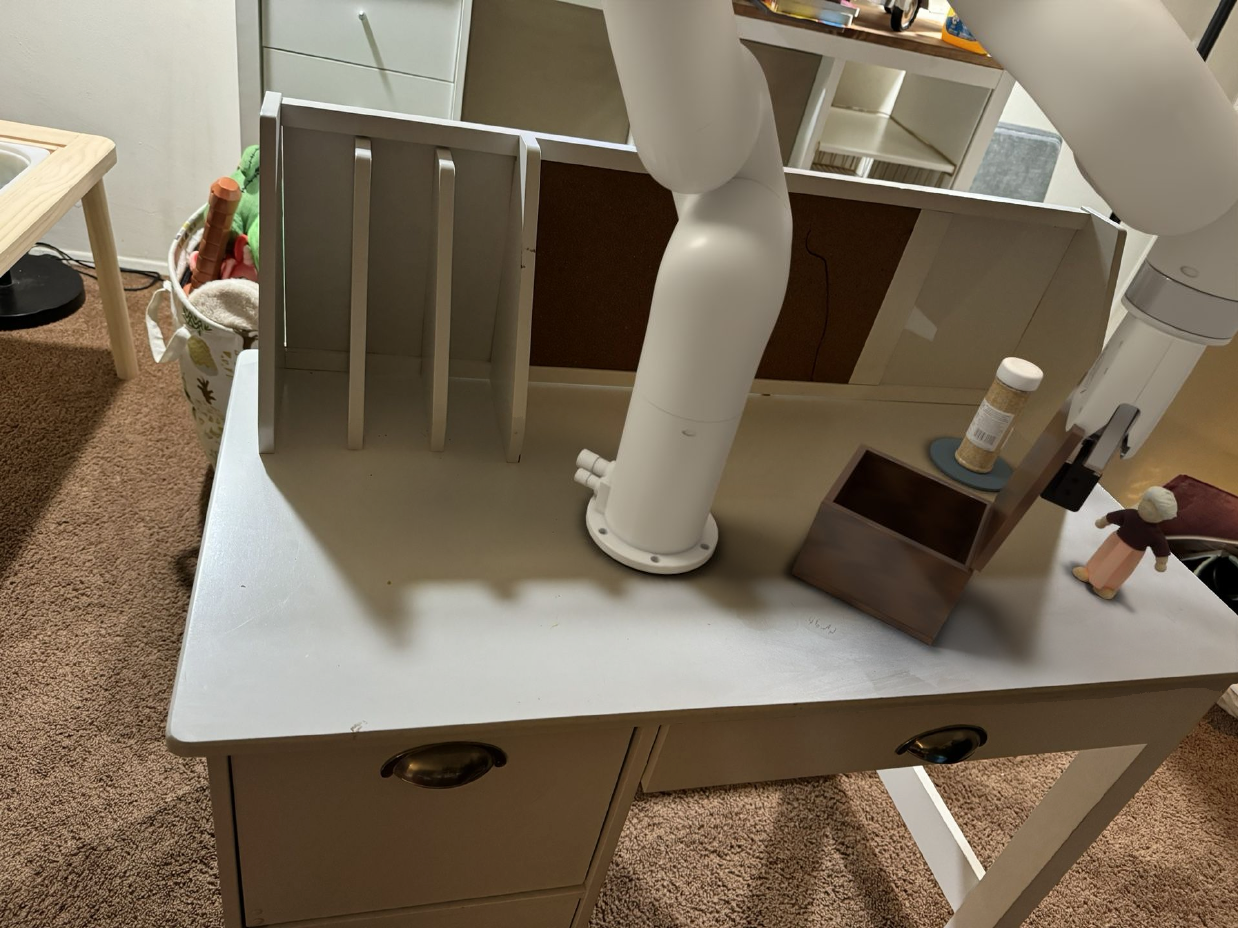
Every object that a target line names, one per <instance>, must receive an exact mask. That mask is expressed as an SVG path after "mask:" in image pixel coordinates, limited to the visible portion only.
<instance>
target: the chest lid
mask: <svg viewBox="0 0 1238 928" xmlns="http://www.w3.org/2000/svg"><path fill="white" fill-rule="evenodd" d="M1088 372H1089V371H1085V373H1084V374H1083V375H1082V377H1081V378H1080V380H1079V381H1078V383H1077V384H1076V385H1075V387H1074V388H1073V389H1072V391H1071V392H1070V393H1069V395H1068V397H1067V398H1066V399H1065V401H1064V402H1063V403H1062V405H1061V406H1060V407H1059V409H1058V410H1057V412H1056V413H1055V414H1054V416H1053V417H1052V418H1051V420H1050V421H1049V423H1048V424H1047V425H1046V427H1045V428H1044V430H1043V431H1042V432H1041V433H1040V435H1039V437H1038V438H1037V439H1036V441H1035V442H1034V443H1033V444H1032V445H1031V447H1030V449H1028V452H1027V453H1026V455H1025V456H1024V457H1023V459H1022V460H1021V461H1020V462H1019V464H1018V465H1017V467H1016V468H1015V470H1014V471H1012V475H1011V476H1010V478H1009V479H1008V481H1007V482H1006V483H1005V485H1004V486H1003V487H1002V489H1001V490H1000V491H998V493H997V495H996V496H995V497H994V500H993V502H994V503H993V506H992V509H991V511H990V514H989V517H988V520H987V523H986V526H985V529H984V531H983V534H982V537H981V540H980V543H979V546H978V549H977V551H976V554H975V557H974V560H973V563H972V566H971V568H973V569H974V571H976V572H978V573H981V572H982V571H983V570H984V569H985V567H986V566H987V565H988V563H989V562H990V561H991V560H992V558H993V557H994V556H995V554H996V553H997V551H998V550H999V549H1000V547H1001V546H1002V545H1003V544H1004V542H1005V541H1006V540H1007V538H1008V537H1009V536H1010V535H1011V533H1012V532H1013V531H1014V530H1015V528H1016V527H1017V525H1019V523H1020V521H1021V520H1022V519H1023V518H1024V516H1025V515H1026V514H1027V512H1028V511H1029V510H1030V508H1032V506H1033V504H1034V503H1035V502H1036V501H1037V499H1038V498H1039V497H1040V494H1041V493H1042V491H1043V490H1044V489H1045V487H1046V486H1047V485H1048V483H1049V482H1050V481H1051V480H1052V478H1053V477H1054V476H1055V474H1056V473H1057V472H1058V470H1059V469H1060V468H1061V466H1062V465H1063V464H1064V463H1065V461H1066V460H1067V459H1068V457H1069V456H1070V455H1071V453H1072V452H1073V451H1074V449H1075V448H1076V447H1077V446H1078V444H1079V443H1080V442H1081V440H1082V439H1083V438H1084V433H1085V430H1084V429H1082V428H1080V427H1078V426H1077V425H1076V424H1075V423H1074V424H1073V426H1072V427H1071V428H1070V429H1069V430H1068V431H1066V424H1067V419H1068V415H1069V411H1070V407H1071V404H1072V400H1073V397H1074V395H1075V393H1076V391H1077V389H1078V387H1079V386H1080V384H1081V383H1082V381H1083V380H1084V378H1085V377H1086V375H1087V374H1088Z"/></svg>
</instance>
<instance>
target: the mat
mask: <svg viewBox="0 0 1238 928" xmlns="http://www.w3.org/2000/svg"><path fill="white" fill-rule="evenodd" d="M962 441H963V439H962V438H961V439H959V438H954V437H948V438H947V437H944V438H939V439H936V440H935V441H933V442H932V443H931V444H930V447H929V451H928V454H929V456H930V459H931V461H932V462H933V464H934V465H935V466H936V467H937V468H938V469H939V470H940V471H941V472H942V473H943V474H945V475H946V476H947V477H949V478H951V479H952V480H954V481H956V482H958V483H959V484H962V485H964V486H967V487H970V488H972V489H975V490H980V491H984V492H1000V490H1001V489H1002V487H1003V486H1004V485H1005V483H1006V482H1007V481H1008V479H1009V478H1010V476H1011V475H1012V474H1013V471H1012V469H1011V468H1010V466H1009V464H1007V463H1006V462H1005V461H1004V460H1003V459H1002V458H1001V457H1000V456H998V457H997V459H996V460H995V462H994V464H993V468H992V469H991V471H989V472H987V473H978V472H974V471H971V470H969V469H967V468H965V467H963V466H962V465H961V464H960V463H959V462H958V461H957V460H956V458H955V453H956V451H957V450H958V449H959V447H960V445H961V443H962Z"/></svg>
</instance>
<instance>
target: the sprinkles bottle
mask: <svg viewBox="0 0 1238 928" xmlns="http://www.w3.org/2000/svg"><path fill="white" fill-rule="evenodd" d="M1043 378H1044V373H1043V370H1042V369H1041V368H1040V367H1039V366H1037V365H1036V364H1034V363H1032V362H1030V361H1028V360H1025V359H1023V358H1019V357H1013V356H1010V357H1005V358H1003V360H1002V361H1001V362H1000V365H999V366H998V368H997V370H996V372H995V376H994V380H993V382H992V384H991V385H990V386H989V389H988V391H987V393H986V395H985V396H984V398H983V400H982V402H981V403H980V405H979V407H978V409H977V411H976V412H975V415H974V417H973V419H972V420H971V422H970V424H969V427H968V429H967V431H966V433H965V436H964V438H963V439H962V440H963V441H962V443H961V445H960V447H959V449H958V450H957V451H956V453H955V458H956V460H957V461H958V462H959V463H960V464H961V465H962V466H963V467H965V468H967V469H969V470H971V471H974V472H978V473H987V472H989V471H991V469H992V468H993V464H994V462H995V460H996V459H997V457H999V455H1000V453H1001V451H1002V450H1003V449H1004V447H1005V445H1006V443H1007V442H1008V440H1009V438H1010V437H1011V434H1012V432H1013V431H1014V429H1015V426H1016V424H1017V422H1018V421H1019V419H1020V418H1021V415H1022V413H1023V411H1024V409H1025V407H1026V406H1027V403H1028V402H1029V400H1030V398H1031V396H1032V395H1033V393H1034V392H1035V391H1036V390H1037V389H1038V388H1039V386H1040V384H1041V382H1042V380H1043Z"/></svg>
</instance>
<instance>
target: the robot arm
mask: <svg viewBox="0 0 1238 928" xmlns="http://www.w3.org/2000/svg"><path fill="white" fill-rule="evenodd" d="M946 2H947V3H948V5H949V6H950V8H951V9H952V10H953V12H954V13H955V15H956V16H957V17H958V19H959V20H960V21H961V23H962V24H963V26H965V28H966V29H967V30H968V31H969V33H970V34H971V36H972V37H973V38H974V39H975V41H976V42H977V44H979V46H980V47H981V48H982V49H983V50H984V52H985V53H986V54H987V55H989V56H990V58H992V60H994V61H995V62H996V63H997V64H999V65H1000V67H1002V69H1004V70H1005V71H1006V72H1007V73H1008V74H1009V75H1010V76H1011V77H1012V78H1013V79H1014V80H1015V81H1016V82H1017V83H1018V84H1019V86H1020V87H1022V89H1023V90H1024V91H1025V92H1026V94H1028V95H1029V97H1030V98H1031V99H1032V100H1033V102H1034V103H1035V104H1036V106H1037V107H1038V108H1039V109H1040V111H1041V112H1042V113H1043V115H1044V116H1045V117H1046V118H1047V120H1048V121H1049V122H1050V124H1051V125H1052V126H1053V128H1054V129H1055V130H1056V132H1057V133H1058V134H1059V136H1060V137H1061V138H1062V139H1063V141H1064V142H1065V144H1066V145H1067V147H1068V148H1069V149H1070V150H1071V152H1072V155H1073V160H1074V163H1075V165H1076V168H1077V170H1078V171H1079V173H1080V175H1081V176H1082V178H1083V179H1084V180H1085V182H1087V184H1088V185H1089V186H1090V187H1091V188H1092V189H1093V191H1094V192H1095V194H1097V195H1098V196H1099V197H1101V199H1102V200H1103V201H1104V203H1105V204H1106V205H1107V206H1108V208H1109V209H1110V210H1111V211H1112V213H1113V214H1114V215H1115V216H1116V217H1117V218H1118V219H1119V220H1120V221H1121V222H1122V223H1123V224H1125V225H1126V226H1128V227H1129V228H1131V229H1133V230H1135V231H1138V232H1141V233H1144V234H1145V235H1146V234H1147V235H1152V236H1156V239H1155V240H1154V242H1153V243H1152V246H1151V247H1150V249H1149V251H1148V253H1147V254H1146V257H1145V258H1144V259H1143V261H1142V263H1141V264H1140V266H1139V268H1138V270H1137V271H1136V273H1135V275H1134V276H1133V278H1132V280H1131V281H1130V283H1129V284H1128V286H1127V289H1125V292H1124V293H1123V295H1122V296H1121V298H1120V304H1121V305H1122V306H1123V307H1124V308H1125V310H1127V313H1126V314H1125V315H1124V317H1123V318H1122V320H1121V321H1120V323H1119V324H1118V325H1117V327H1116V329H1115V330H1114V331H1113V333H1112V335H1111V336H1110V338H1109V339H1108V341H1107V343H1106V344H1105V345H1104V346H1103V349H1102V351H1101V352H1100V354H1099V355H1098V356H1097V358H1096V360H1095V362H1094V363H1093V365H1092V366H1091V367H1090V369H1089V371H1087V372H1088V374H1087V375H1086V377H1085V378H1084V380H1083V381H1082V383H1081V384H1080V386H1079V387H1078V389H1077V391H1076V393H1075V395H1074V397H1073V400H1072V404H1071V407H1070V411H1069V415H1068V419H1067V424H1066V431H1068V430H1069V429H1070V428H1071V427H1072V426H1073V424H1074V423H1075V424H1076V425H1077V426H1078V427H1080V428H1082V429H1084V430H1085V433H1084V438H1083V439H1082V440H1081V442H1080V443H1079V444H1078V446H1077V447H1076V448H1075V449H1074V451H1073V452H1072V453H1071V455H1070V456H1069V457H1068V459H1067V460H1066V461H1065V463H1064V464H1063V465H1062V466H1061V468H1060V469H1059V470H1058V472H1057V473H1056V474H1055V476H1054V477H1053V478H1052V480H1051V481H1050V482H1049V483H1048V485H1047V486H1046V487H1045V489H1044V490H1043V491H1042V493H1041V494H1040V495H1039V497H1040V498H1041V499H1043V500H1045V501H1047V502H1049V503H1051V504H1054V505H1056V506H1058V507H1060V508H1063V509H1065V510H1067V511H1070V512H1072V513H1078V512H1079V511H1080V510H1081V509H1082V507H1083V505H1084V504H1085V503H1086V501H1087V499H1089V496H1090V495H1091V493H1092V492H1093V490H1094V489H1095V488H1096V486H1097V484H1098V483H1099V482H1100V480H1101V478H1102V477H1103V474H1104V472H1105V471H1106V469H1107V468H1108V466H1109V465H1110V464H1111V462H1112V461H1113V459H1114V458H1115V457H1116V455H1117V454H1118V453H1119V459H1120V460H1128V459H1131V458H1133V457H1134V456H1135V454H1137V452H1138V451H1139V450H1140V449H1141V448H1142V446H1143V445H1144V443H1145V442H1146V440H1148V438H1149V437H1150V435H1151V434H1152V432H1153V430H1154V429H1155V428H1156V426H1157V425H1158V423H1159V422H1160V421H1161V419H1162V417H1163V416H1164V414H1165V413H1166V412H1167V410H1168V408H1169V407H1170V406H1171V404H1172V402H1173V401H1174V399H1175V398H1176V397H1177V394H1178V393H1179V391H1180V390H1181V388H1182V387H1183V386H1184V384H1185V383H1186V381H1187V379H1188V377H1189V376H1190V375H1191V374H1192V373H1193V370H1194V368H1195V367H1196V365H1197V363H1198V361H1200V358H1201V356H1202V355H1203V354H1204V352H1205V351H1206V348H1207V347H1208V346H1211V347H1212V346H1213V347H1214V346H1215V347H1223V346H1226V345H1229V344H1230V343H1231V341H1232V340H1233V339H1234V336H1235V335H1236V334H1237V332H1238V109H1235V107H1234V105H1233V104H1232V102H1231V100H1230V99H1229V98H1228V96H1227V94H1226V93H1225V91H1224V90H1223V88H1222V86H1221V85H1220V83H1219V81H1218V80H1217V79H1216V77H1215V76H1214V74H1213V72H1212V71H1211V70H1210V68H1209V66H1208V65H1207V63H1206V62H1205V61H1204V59H1203V57H1202V55H1201V54H1200V53H1199V51H1198V50H1197V48H1196V47H1195V45H1194V44H1193V43H1192V41H1191V39H1190V38H1189V37H1188V35H1187V34H1186V32H1185V31H1184V29H1183V28H1182V27H1181V25H1180V24H1179V23H1178V21H1177V20H1176V19H1175V18H1174V16H1173V15H1172V13H1170V11H1169V9H1168V8H1167V7H1166V6H1165V4H1164V3H1163V2H1162V1H1161V0H946ZM600 4H601V8H602V12H603V16H604V21H605V26H606V31H607V35H608V41H609V45H610V49H611V53H612V56H613V60H614V64H615V68H616V72H617V76H618V79H619V80H618V81H619V84H620V88H621V93H622V96H623V99H624V105H625V109H626V112H627V118H628V123H629V127H630V132H631V136H632V140H633V144H634V146H635V151H636V153H637V156H638V158H639V160H640V161H641V163H642V165H643V167H644V168H645V170H646V171H647V172H648V174H649V175H650V176H651V177H652V178H653V180H655V181H656V182H657V183H658V184H660V185H661V186H663V187H664V188H666V189H668V190H669V191H671V194H672V197H673V201H674V205H675V206H674V207H675V210H676V213H677V214H676V215H677V219H678V221H677V224H676V225H675V227H674V230H673V232H672V234H671V236H670V238H669V241H668V242H667V246H666V248H665V249H664V252H663V256H662V259H661V261H660V265H659V269H658V272H657V276H656V280H655V284H654V288H653V289H654V290H653V295H652V300H651V305H650V311H649V317H648V322H647V326H646V331H645V336H644V340H643V344H642V349H641V352H640V356H639V361H638V362H639V363H638V365H637V370H636V373H635V380H634V384H633V388H632V393H631V397H630V400H629V404H628V408H627V414H626V417H625V422H624V425H623V430H622V434H621V437H620V442H619V446H618V451H617V453H616V454H617V455H616V459H615V460H612V461H609V460H607V459H605V458H602V456H600V455H599V454H597V453H594V452H592V451H590V450H589V449H587V448H584V449H582V450H581V452H580V453H579V455H578V456H577V458H576V461H575V466H576V467H577V468H578V469H577V471H576V472H575V474H574V476H573V480H574V481H575V482H576V483H578V484H580V485H582V486H584V487H587V488H589V489H592V490H593V495H592V496H591V498H590V500H589V502H588V504H587V509H586V514H585V521H586V527H587V530H588V533H589V535H590V537H591V538H592V539H593V541H594V542H595V544H596V545H597V546H598V547H599V548H600V549H601V550H602V551H603V552H605V553H606V554H607V555H608V556H610V557H611V558H612V559H614V560H616V561H617V562H619V563H621V564H623V565H625V566H628V567H630V568H633V569H636V570H637V571H643V572H647V573H650V574H651V573H652V574H660V575H661V574H663V575H672V574H676V575H677V574H680V573H688V572H690V571H692V570H696V569H697V568H699V567H701V566H702V565H704V564H705V563H707V561H709V559H711V557H712V556H713V554H714V552H715V549H716V546H717V544H718V541H719V529H718V525H717V522H716V520H715V518H714V517H713V514H712V513H711V509H712V506H713V504H714V500H715V497H716V494H717V492H718V488H719V486H720V483H721V480H722V477H723V474H724V470H725V468H726V465H727V461H728V459H729V455H730V452H731V450H732V446H733V444H734V441H735V438H736V435H737V431H738V429H739V426H740V423H741V420H742V417H743V413H744V411H745V408H746V404H747V401H748V398H749V394H750V391H751V388H752V385H753V383H754V381H755V380H754V379H755V377H756V374H757V372H758V368H759V366H760V363H761V360H762V358H763V355H764V353H765V350H766V347H767V345H768V343H769V340H770V338H771V336H772V333H773V331H774V328H775V326H776V323H777V321H778V318H779V315H780V312H781V310H782V307H783V303H784V300H785V296H786V293H787V287H788V282H789V277H790V269H791V259H792V245H793V215H792V208H791V203H790V195H789V192H788V185H787V181H786V175H785V170H784V163H783V159H782V153H781V148H780V142H779V137H778V131H777V126H776V120H775V113H774V107H773V104H772V97H771V93H770V90H769V89H770V88H769V84H768V81H767V79H766V75H765V72H764V70H763V68H762V66H761V64H760V61H758V58H757V57H756V56H755V54H753V52H752V51H751V50H750V49H749V48H748V47H747V46H745V45H744V44H743V43H742V42H741V40H740V36H739V29H738V26H737V21H736V15H735V11H734V5H733V0H600Z"/></svg>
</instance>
